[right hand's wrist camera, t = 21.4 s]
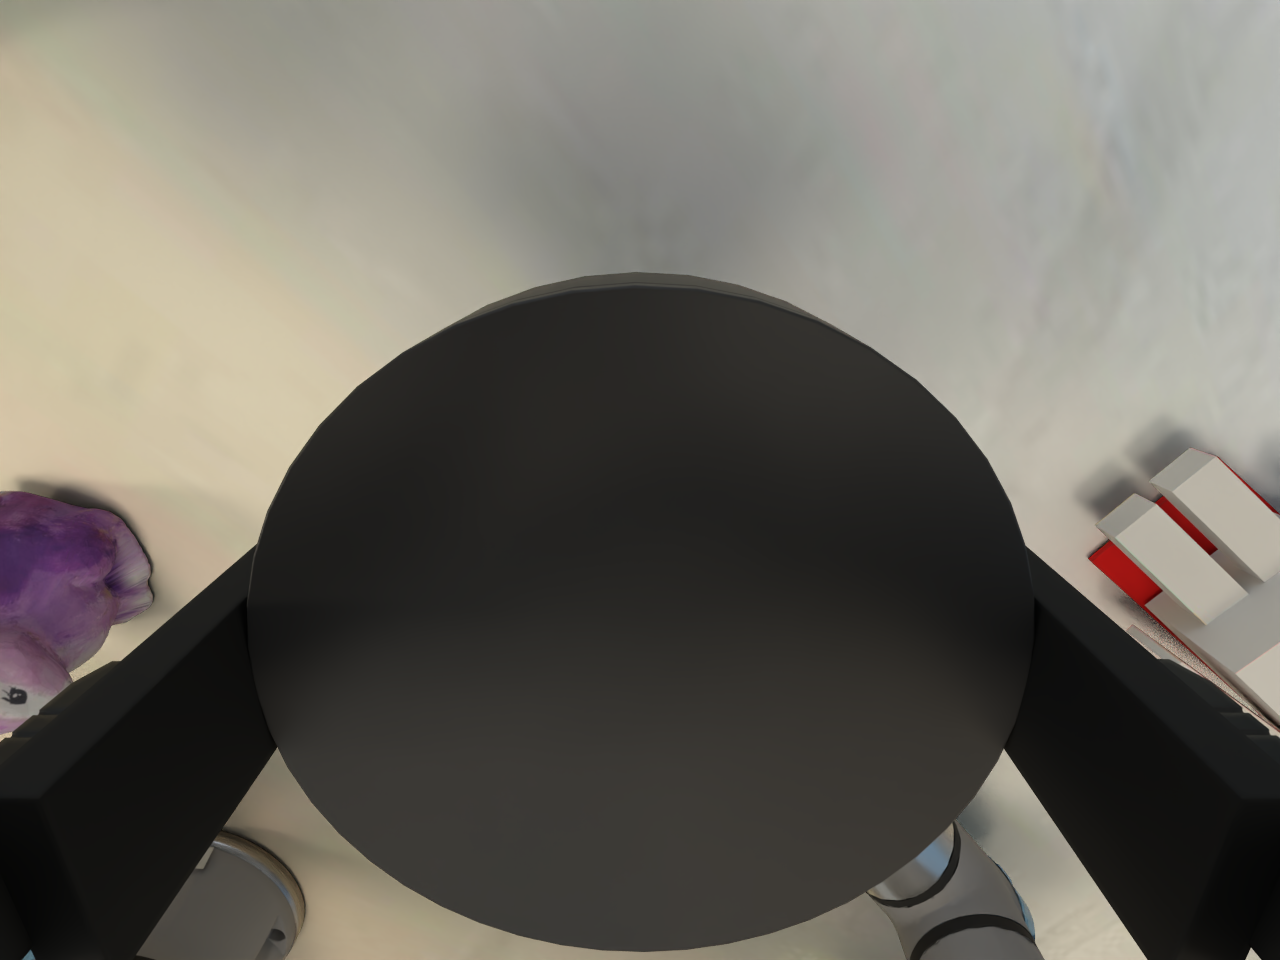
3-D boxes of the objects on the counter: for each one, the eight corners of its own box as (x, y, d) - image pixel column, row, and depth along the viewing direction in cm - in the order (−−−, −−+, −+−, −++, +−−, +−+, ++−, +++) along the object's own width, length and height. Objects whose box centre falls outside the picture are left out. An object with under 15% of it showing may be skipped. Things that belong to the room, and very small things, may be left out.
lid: (1103, 606, 12) (1191, 680, 10) (644, 932, 15) (645, 1038, 13) (633, 86, 9) (631, 52, 7) (181, 615, 12) (94, 691, 10)
